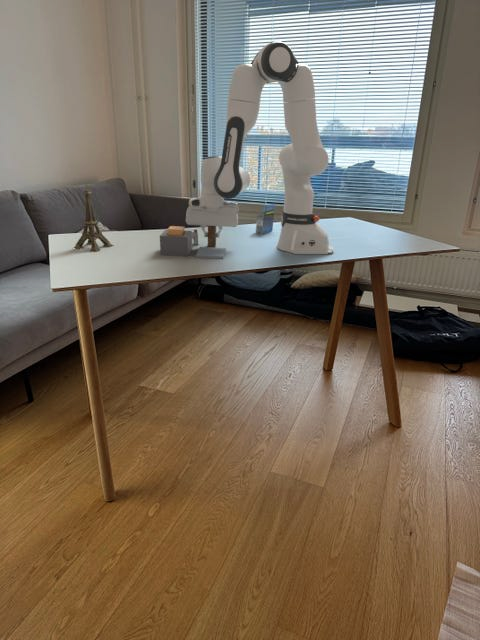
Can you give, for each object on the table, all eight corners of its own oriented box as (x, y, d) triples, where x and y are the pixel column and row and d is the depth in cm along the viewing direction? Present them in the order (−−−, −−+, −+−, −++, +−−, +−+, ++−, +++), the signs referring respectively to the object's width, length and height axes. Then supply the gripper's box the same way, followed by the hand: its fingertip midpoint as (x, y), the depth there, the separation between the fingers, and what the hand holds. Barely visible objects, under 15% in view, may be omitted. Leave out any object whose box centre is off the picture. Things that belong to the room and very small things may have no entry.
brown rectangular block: (215, 245, 170) (216, 225, 167) (215, 247, 167) (215, 226, 164) (208, 245, 170) (208, 225, 167) (207, 246, 167) (207, 226, 164)
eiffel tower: (72, 248, 158) (63, 178, 148) (90, 242, 167) (83, 176, 157) (96, 252, 155) (88, 180, 145) (113, 245, 164) (107, 178, 154)
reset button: (184, 234, 159) (184, 226, 158) (182, 237, 154) (181, 229, 153) (170, 234, 159) (170, 226, 158) (167, 237, 154) (167, 229, 153)
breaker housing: (192, 249, 163) (191, 231, 161) (187, 256, 154) (187, 237, 151) (166, 247, 164) (165, 229, 161) (160, 254, 155) (159, 235, 152)
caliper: (198, 246, 169) (198, 230, 167) (195, 246, 169) (195, 230, 166) (184, 234, 186) (184, 220, 184) (182, 234, 186) (181, 220, 183)
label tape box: (265, 229, 201) (267, 203, 196) (273, 231, 199) (275, 204, 193) (255, 232, 194) (256, 205, 189) (262, 234, 192) (264, 206, 187)
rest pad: (225, 250, 164) (225, 248, 164) (223, 258, 153) (223, 256, 153) (200, 248, 164) (200, 246, 164) (195, 257, 153) (195, 255, 153)
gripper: (239, 201, 164) (238, 236, 170) (187, 198, 165) (187, 233, 170) (239, 203, 158) (237, 240, 164) (184, 201, 159) (185, 237, 165)
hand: (211, 237), depth 167 cm, fingers closed on brown rectangular block, 3 cm apart
